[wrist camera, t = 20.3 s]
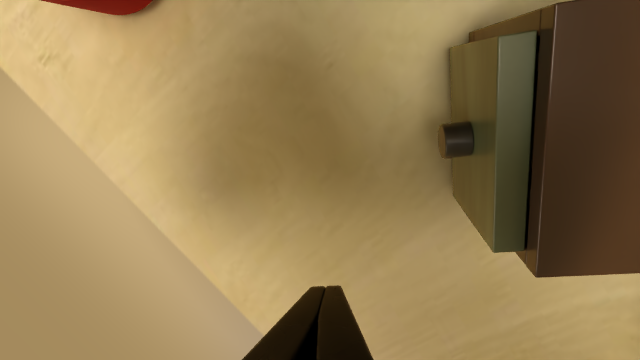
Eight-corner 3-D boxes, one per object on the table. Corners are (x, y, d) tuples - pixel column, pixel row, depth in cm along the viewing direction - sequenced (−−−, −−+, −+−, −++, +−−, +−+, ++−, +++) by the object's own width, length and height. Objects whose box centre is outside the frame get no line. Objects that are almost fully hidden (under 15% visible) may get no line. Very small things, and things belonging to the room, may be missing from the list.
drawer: (431, 197, 19) (461, 255, 13) (425, 51, 17) (459, 42, 11) (658, 178, 17) (812, 235, 11) (690, 9, 15) (909, -31, 9)
